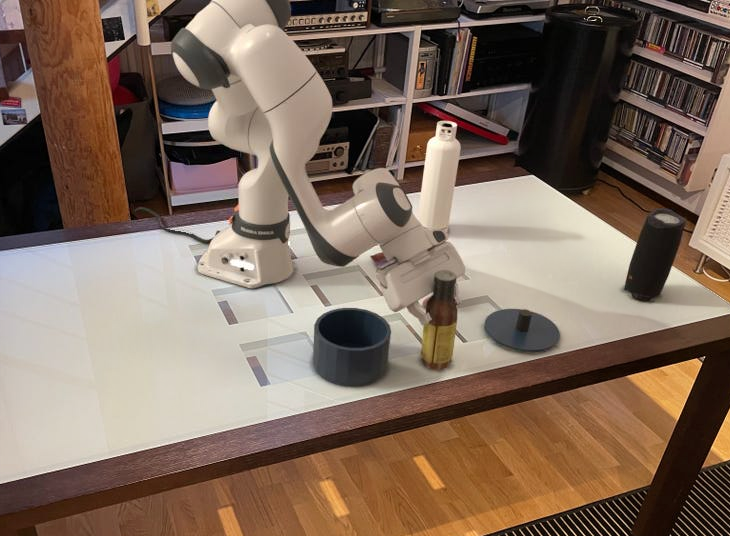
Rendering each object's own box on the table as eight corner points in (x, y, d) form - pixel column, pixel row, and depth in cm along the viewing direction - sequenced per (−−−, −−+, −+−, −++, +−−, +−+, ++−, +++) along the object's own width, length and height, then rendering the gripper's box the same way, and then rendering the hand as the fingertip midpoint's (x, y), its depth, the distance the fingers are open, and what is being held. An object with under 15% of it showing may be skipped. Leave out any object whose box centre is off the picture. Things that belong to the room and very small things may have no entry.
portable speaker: (625, 301, 173) (651, 223, 161) (618, 281, 180) (642, 204, 169) (664, 305, 172) (693, 227, 160) (656, 285, 179) (683, 208, 168)
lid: (480, 346, 157) (484, 325, 154) (487, 308, 169) (491, 287, 166) (558, 360, 154) (564, 339, 151) (559, 320, 166) (564, 300, 163)
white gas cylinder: (448, 225, 202) (465, 120, 185) (446, 238, 195) (463, 131, 179) (418, 221, 203) (431, 116, 186) (414, 234, 197) (428, 127, 180)
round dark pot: (304, 378, 147) (305, 342, 142) (323, 337, 158) (325, 302, 153) (378, 393, 144) (382, 356, 139) (392, 350, 155) (397, 315, 150)
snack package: (414, 247, 187) (422, 257, 183) (413, 254, 188) (421, 264, 184) (370, 252, 184) (377, 262, 180) (369, 259, 185) (376, 269, 182)
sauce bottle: (454, 357, 153) (470, 271, 142) (445, 374, 149) (461, 287, 137) (423, 349, 155) (436, 263, 144) (413, 365, 151) (426, 278, 139)
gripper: (382, 261, 136) (419, 329, 136) (450, 227, 148) (484, 290, 148) (362, 274, 141) (397, 339, 141) (429, 240, 153) (462, 301, 153)
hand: (442, 314), depth 145 cm, fingers open, 8 cm apart
